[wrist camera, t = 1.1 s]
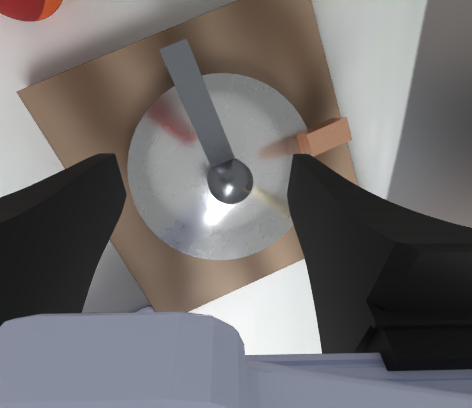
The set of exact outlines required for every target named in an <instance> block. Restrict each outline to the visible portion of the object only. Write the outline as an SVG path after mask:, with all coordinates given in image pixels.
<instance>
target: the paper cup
mask: <svg viewBox="0 0 472 408" xmlns="http://www.w3.org/2000/svg"><path fill="white" fill-rule="evenodd" d="M61 2H62V0H0V13H1V14H3V15H6V16H8V17H11V18H13V19H17V20H21V21H39V20H42V19H45V18H47V17H49V16H50V15H52V14H53V13H54V12H55V11H56V10H57V9H58V8H59V6H60V4H61Z"/></svg>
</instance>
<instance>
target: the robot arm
mask: <svg viewBox="0 0 472 408" xmlns="http://www.w3.org/2000/svg"><path fill="white" fill-rule="evenodd" d="M126 196H127V194H126V190H125V187H124V183H123V180H122V176H121V173H120V169H119V165H118V162H117V158H116V155H115V153H99V154H96V155H93V156H91V157H89V158H87V159H85V160H82V161H80V162H78V163H76V164H74V165H72V166H70V167H69V168H67V169H65V170H63V171H61V172H59V173H57V174H55V175H52V176H50V177H48V178H46V179H44V180H42V181H40V182H37V183H35V184H33V185H31V186H29V187H26V188H24V189H22V190H19V191H17V192H14V193H11V194H9V195H6V196H3V197H1V198H0V408H472V228H470V227H466V226H461V225H457V224H453V223H450V222H446V221H443V220H439V219H436V218H433V217H430V216H426V215H424V214H421V213H418V212H415V211H412V210H409V209H407V208H404V207H402V206H399V205H397V204H394V203H391V202H389V201H387V200H385V199H383V198H380V197H378V196H376V195H374V194H372V193H370V192H368V191H366V190H364V189H362V188H361V187H359V186H357V185H356V184H354V183H352V182H350V181H349V180H347V179H346V178H344V177H342V176H341V175H339V174H338V173H336V172H335V171H333V170H332V169H330V168H329V167H328V166H326V165H325V164H323V163H322V162H320V161H319V160H317V159H316V158H314V157H313V156H311V155H309V154H293V158H292V164H291V171H290V177H289V183H288V190H287V200H288V206H289V211H290V215H291V219H292V222H293V225H294V228H295V231H296V234H297V237H298V240H299V243H300V246H301V249H302V252H303V255H304V258H305V261H306V265H307V270H308V274H309V279H310V284H311V289H312V294H313V300H314V305H315V310H316V316H317V322H318V328H319V334H320V341H321V348H322V354H286V355H245V351H244V343H243V341H242V339H241V337H240V335H239V333H238V331H237V330H236V329H235V328H234V327H232V326H231V325H229V324H227V323H225V322H223V321H221V320H219V319H217V318H215V317H213V316H211V315H203V314H195V313H187V312H155V310H154V308H153V307H151V306H148V307H146V308H143V309H141V310H139V311H137V312H134V313H82V309H83V306H84V303H85V300H86V296H87V293H88V290H89V287H90V284H91V281H92V278H93V275H94V272H95V270H96V267H97V265H98V262H99V260H100V258H101V255H102V253H103V251H104V249H105V247H106V245H107V243H108V241H109V239H110V237H111V235H112V233H113V231H114V229H115V227H116V225H117V223H118V220H119V218H120V216H121V214H122V210H123V207H124V204H125V200H126Z"/></svg>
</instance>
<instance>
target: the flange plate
mask: <svg viewBox="0 0 472 408" xmlns="http://www.w3.org/2000/svg"><path fill="white" fill-rule="evenodd" d="M159 50H160V53H161V55H162V58H163V60H164V63H165V65H166V67H167V69H168V72H169V74H170V76H171V78H172V81H173V83H174V85H175V86H174V87H172V88H171V89H169V90H168V91H167V92H165V93H164V94H162V95H161V96H160V97H159V98H158V99H157V100H156V101H155V102H154V103H153V104H152V105H151V106H150V107H149V109H148V110H147V111H146V113H145V114H144V115H143V117H142V119H141V120H140V122H139V124H138V126H137V127H136V130H135V132H134V135H133V137H132V140H131V144H130V149H129V153H128V163H127V170H128V182H129V187H130V192H131V195H132V198H133V201H134V204H135V206H136V208H137V210H138V212H139V214H140V216H141V217H142V219H143V220H144V222H145V223H146V225H147V226H148V227H149V228H150V229H151V230H152V231H153V233H154V234H156V235H157V236H158V237H159V238H160V239H161V240H162V241H164V242H165V243H167V244H168V245H170V246H171V247H173V248H174V249H176V250H178V251H180V252H182V253H185V254H188V255H190V256H193V257H198V258H202V259H209V260H231V259H238V258H242V257H246V256H249V255H252V254H254V253H257V252H259V251H261V250H263V249H265V248H267V247H269V246H270V245H272V244H273V243H275V242H276V241H277V240H279V239H280V238H281V237H282V236H283V235H284V234H286V233H287V231H288V230H289V229H290V228H291V227H292V226H293V222H292V219H291V215H290V211H289V206H288V200H287V190H288V183H289V177H290V171H291V164H292V158H293V154H309V155H311V156H313V157H314V156H316V155H318V154H320V153H323V152H325V151H327V150H329V149H332V148H334V147H336V146H338V145H341V144H343V143H345V142H347V141H350V140H352V138H351V134H350V130H349V126H348V122H347V118H346V117H340V118H330V119H328V120H326V121H323V122H321V123H319V124H317V125H314V126H312V127H310V128H307V127H306V125H305V123H304V122H303V120H302V118H301V116H300V115H299V113H298V112H297V110H296V109H295V108H294V106H293V105H292V104H291V103H290V102H289V101H288V100H287V99H286V98H285V97H284V96H283V95H281V94H280V93H279V92H278V91H276V90H275V89H274V88H272V87H270V86H269V85H267V84H265V83H263V82H261V81H258V80H256V79H254V78H251V77H247V76H243V75H239V74H230V73H213V74H207V75H201V73H200V70H199V68H198V65H197V63H196V60H195V58H194V55H193V53H192V51H191V48H190V46H189V43H188V41H187V38H186V39H184V40H181V41H179V42H176V43H174V44H171V45H169V46H167V47H164V48H162V49H159Z"/></svg>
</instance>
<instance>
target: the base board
mask: <svg viewBox="0 0 472 408" xmlns="http://www.w3.org/2000/svg"><path fill="white" fill-rule="evenodd" d="M186 38H187V41H188V43H189V46H190V48H191V51H192V53H193V55H194V58H195V60H196V63H197V65H198V68H199V70H200V73H201V75H207V74H213V73H230V74H239V75H243V76H247V77H251V78H254V79H256V80H258V81H261V82H263V83H265V84H267V85H269V86H270V87H272V88H274V89H275V90H276V91H278V92H279V93H280V94H281V95H283V96H284V97H285V98H286V99H287V100H288V101H289V102H290V103H291V104H292V105H293V106H294V108H295V109H296V110H297V112H298V113H299V115H300V116H301V118H302V120H303V122H304V123H305V125H306V127H307V128H310V127H312V126H314V125H317V124H319V123H321V122H323V121H326V120H328V119H330V118H340V117H341V116H340V112H339V108H338V104H337V100H336V96H335V92H334V88H333V85H332V81H331V77H330V73H329V69H328V65H327V61H326V57H325V53H324V49H323V45H322V41H321V38H320V34H319V30H318V26H317V22H316V18H315V14H314V10H313V6H312V2H311V0H237V1H235V2H232V3H230V4H227V5H225V6H223V7H220V8H218V9H215V10H213V11H211V12H208V13H206V14H203V15H201V16H198V17H196V18H194V19H191V20H189V21H186V22H184V23H182V24H179V25H177V26H174V27H172V28H169V29H167V30H165V31H162V32H160V33H157V34H155V35H153V36H150V37H148V38H145V39H143V40H140V41H138V42H136V43H133V44H131V45H128V46H126V47H123V48H121V49H119V50H116V51H114V52H111V53H109V54H107V55H104V56H102V57H99V58H97V59H94V60H92V61H90V62H87V63H85V64H82V65H80V66H78V67H75V68H73V69H70V70H68V71H65V72H63V73H61V74H58V75H56V76H53V77H51V78H48V79H46V80H44V81H41V82H39V83H36V84H34V85H32V86H29V87H27V88H24V89H22V90H19V91H17V93H18V95H19V97H20V98H21V100H22V101H23V103H24V105H25V106H26V108H27V109H28V111H29V112H30V114H31V116H32V117H33V119H34V120H35V122H36V124H37V125H38V127H39V128H40V130H41V131H42V133H43V135H44V136H45V138H46V139H47V141H48V142H49V144H50V146H51V147H52V149H53V150H54V152H55V154H56V155H57V157H58V158H59V160H60V161H61V163H62V165H63V166H64V168H65V169H67V168H69V167H70V166H72V165H74V164H76V163H78V162H80V161H82V160H85V159H87V158H89V157H91V156H93V155H96V154H99V153H115V155H116V158H117V162H118V165H119V169H120V173H121V176H122V180H123V183H124V187H125V190H126V194H127V196H126V200H125V204H124V207H123V210H122V214H121V216H120V218H119V220H118V223H117V225H116V227H115V229H114V231H113V233H112V235H111V237H110V240H111V242H112V244H113V245H114V247H115V248H116V250H117V252H118V253H119V255H120V256H121V258H122V259H123V261H124V263H125V264H126V266H127V267H128V269H129V271H130V272H131V274H132V275H133V277H134V278H135V280H136V282H137V283H138V285H139V286H140V288H141V289H142V291H143V293H144V294H145V296H146V297H147V299H148V301H149V302H150V304H151V305H152V307H153V308H154V310H155V312H189V311H191V310H193V309H195V308H198V307H200V306H202V305H204V304H206V303H208V302H211V301H213V300H215V299H217V298H219V297H222V296H224V295H226V294H228V293H230V292H233V291H235V290H237V289H239V288H241V287H243V286H246V285H248V284H250V283H252V282H254V281H257V280H259V279H261V278H263V277H265V276H267V275H270V274H272V273H274V272H276V271H278V270H281V269H283V268H285V267H287V266H289V265H291V264H294V263H296V262H298V261H300V260H302V259H305V258H304V255H303V252H302V249H301V246H300V243H299V240H298V237H297V234H296V231H295V228H294V225H293V226H292V227H291V228H290V229H289V230H288V231H287V233H286V234H284V235H283V236H282V237H281V238H280V239H279V240H277V241H276V242H275V243H273V244H272V245H270V246H269V247H267V248H265V249H263V250H261V251H259V252H257V253H254V254H252V255H249V256H246V257H242V258H238V259H231V260H209V259H202V258H198V257H193V256H190V255H188V254H185V253H182V252H180V251H178V250H176V249H174V248H173V247H171V246H170V245H168V244H167V243H165V242H164V241H162V240H161V239H160V238H159V237H158V236H157V235H156V234H154V233H153V231H152V230H151V229H150V228H149V227H148V226H147V225H146V223H145V222H144V220H143V219H142V217H141V216H140V214H139V212H138V210H137V208H136V206H135V204H134V201H133V198H132V195H131V192H130V187H129V182H128V170H127V163H128V153H129V149H130V144H131V140H132V137H133V135H134V132H135V130H136V127H137V126H138V124H139V122H140V120H141V119H142V117H143V115H144V114H145V113H146V111H147V110H148V109H149V107H150V106H151V105H152V104H153V103H154V102H155V101H156V100H157V99H158V98H159V97H160V96H161V95H162V94H164V93H165V92H167V91H168V90H169V89H171V88H172V87H174V86H175V85H174V83H173V81H172V78H171V76H170V74H169V72H168V69H167V67H166V65H165V63H164V60H163V58H162V55H161V53H160V50H159V49H162V48H164V47H167V46H169V45H171V44H174V43H176V42H179V41H181V40H184V39H186ZM314 158H316V159H317V160H319V161H320V162H322V163H323V164H325V165H326V166H328V167H329V168H330V169H332V170H333V171H335V172H336V173H338V174H339V175H341V176H342V177H344V178H346V179H347V180H349V181H350V182H352V183H354V184H356V185H357V186H358V182H357V179H356V175H355V171H354V167H353V163H352V159H351V155H350V151H349V147H348V143H347V142H345V143H343V144H341V145H338V146H336V147H334V148H332V149H329V150H327V151H325V152H323V153H320V154H318V155H316V156H314Z"/></svg>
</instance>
